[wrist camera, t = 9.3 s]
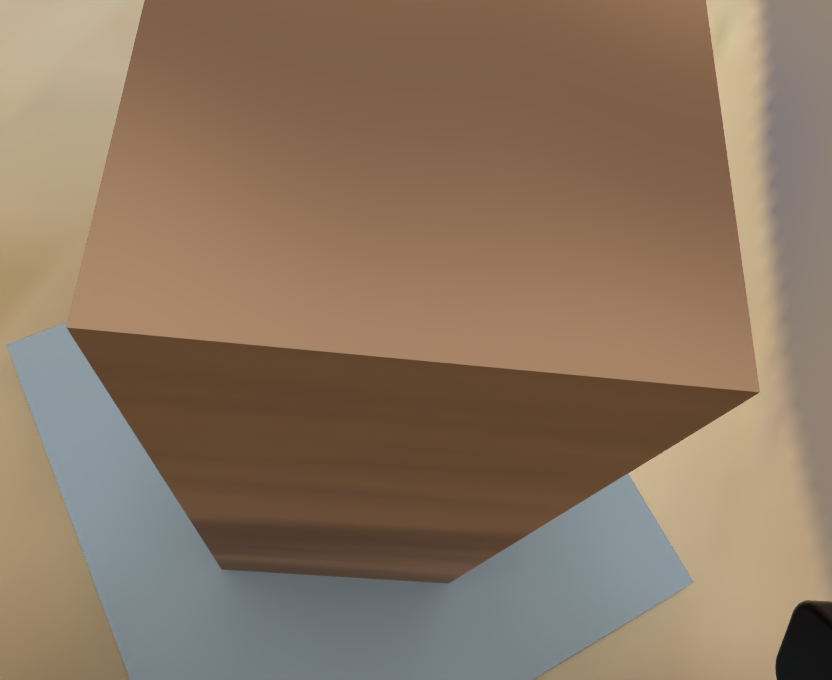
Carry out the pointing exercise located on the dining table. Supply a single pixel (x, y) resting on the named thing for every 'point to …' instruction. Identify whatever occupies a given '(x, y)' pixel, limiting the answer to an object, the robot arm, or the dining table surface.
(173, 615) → the slate mat
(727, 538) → the dining table surface
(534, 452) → the walnut block
